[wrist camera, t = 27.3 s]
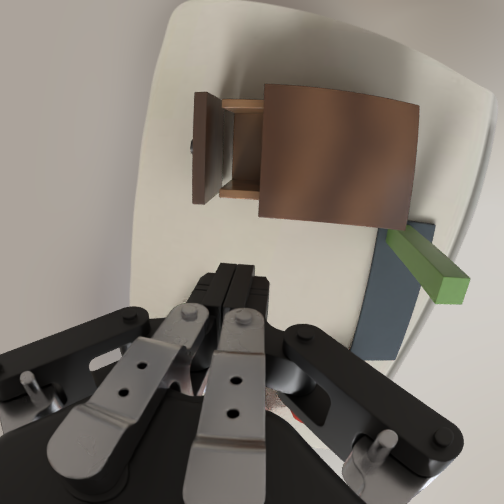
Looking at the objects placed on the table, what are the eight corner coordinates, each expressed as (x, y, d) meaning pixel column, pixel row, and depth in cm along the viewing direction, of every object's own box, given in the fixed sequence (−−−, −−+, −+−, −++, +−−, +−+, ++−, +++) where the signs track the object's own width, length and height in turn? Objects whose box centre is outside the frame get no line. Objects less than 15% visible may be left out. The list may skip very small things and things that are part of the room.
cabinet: (265, 196, 35) (258, 217, 26) (270, 98, 31) (264, 83, 22) (377, 207, 34) (405, 231, 25) (386, 112, 29) (419, 105, 21)
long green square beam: (388, 222, 34) (443, 276, 20) (410, 225, 33) (470, 278, 20) (385, 241, 35) (435, 304, 21) (406, 244, 34) (461, 304, 20)
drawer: (202, 189, 35) (180, 203, 27) (204, 101, 31) (181, 92, 23) (320, 197, 33) (329, 214, 26) (327, 107, 29) (338, 98, 22)
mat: (379, 217, 34) (381, 218, 34) (433, 224, 33) (435, 225, 33) (347, 357, 42) (348, 360, 42) (394, 357, 42) (395, 360, 41)
